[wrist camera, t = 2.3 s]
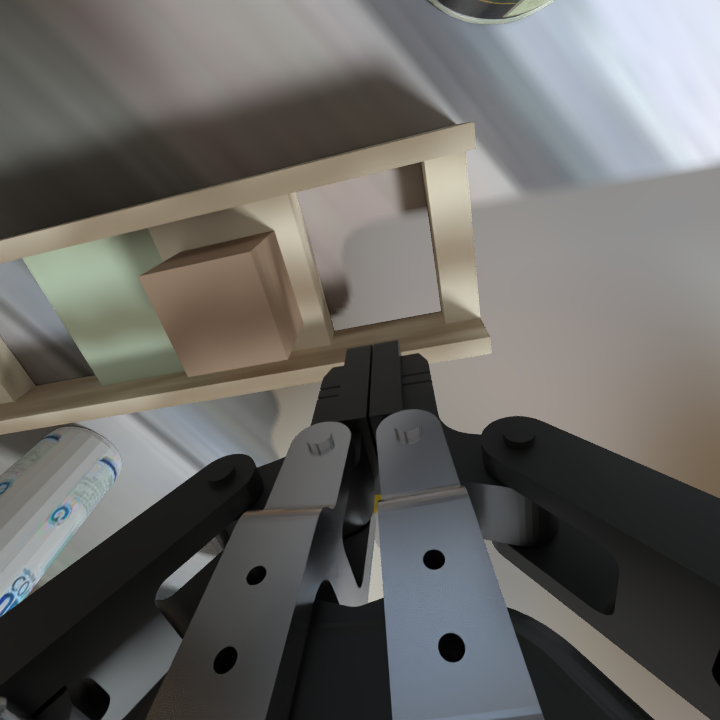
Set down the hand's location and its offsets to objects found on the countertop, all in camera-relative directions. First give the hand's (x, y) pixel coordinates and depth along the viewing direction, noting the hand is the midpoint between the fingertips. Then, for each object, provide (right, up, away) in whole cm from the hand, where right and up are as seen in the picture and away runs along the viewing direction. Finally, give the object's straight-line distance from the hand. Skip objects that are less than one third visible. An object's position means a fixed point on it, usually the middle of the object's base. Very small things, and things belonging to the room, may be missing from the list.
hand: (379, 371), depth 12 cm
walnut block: (-7, +4, +11) cm, 14 cm away
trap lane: (-11, +5, +14) cm, 18 cm away
